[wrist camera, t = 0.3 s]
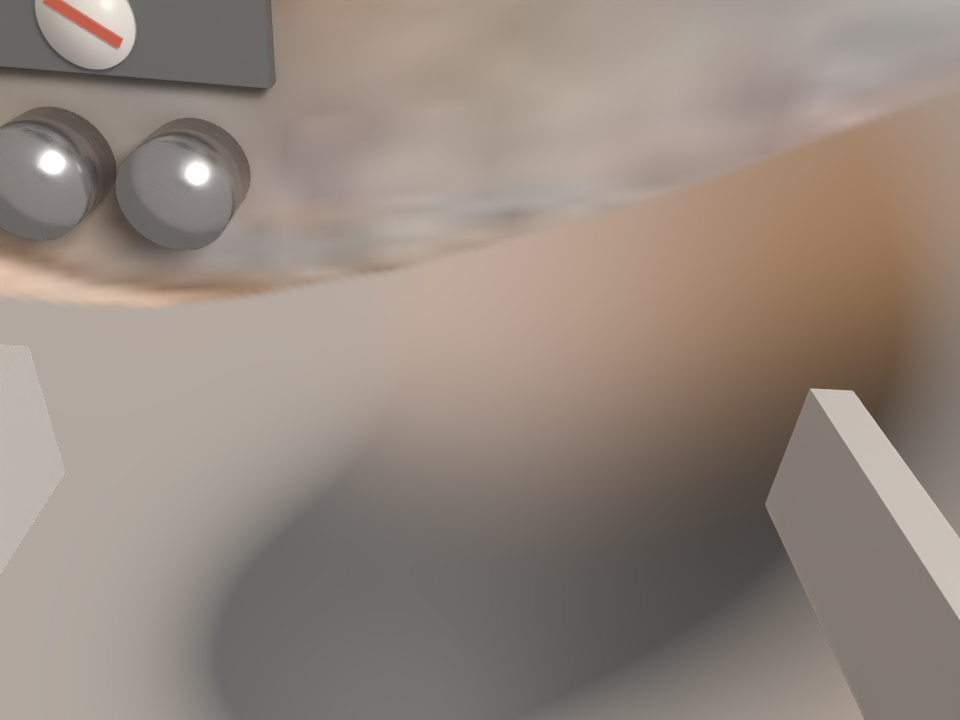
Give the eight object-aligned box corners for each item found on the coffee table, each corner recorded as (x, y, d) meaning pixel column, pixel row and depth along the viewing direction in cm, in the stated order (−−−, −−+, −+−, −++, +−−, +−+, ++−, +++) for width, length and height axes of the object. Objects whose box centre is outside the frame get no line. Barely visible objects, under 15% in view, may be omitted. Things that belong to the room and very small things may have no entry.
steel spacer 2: (139, 113, 36) (106, 139, 33) (246, 122, 36) (224, 148, 33) (154, 212, 39) (125, 246, 36) (254, 219, 39) (234, 253, 36)
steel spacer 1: (-4, 102, 36) (-52, 127, 32) (106, 111, 36) (70, 136, 33) (22, 203, 39) (-20, 236, 35) (124, 210, 39) (92, 243, 35)
